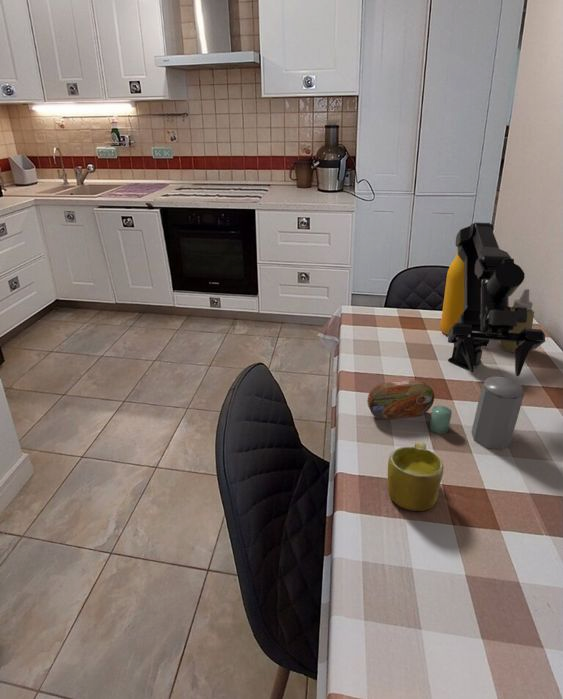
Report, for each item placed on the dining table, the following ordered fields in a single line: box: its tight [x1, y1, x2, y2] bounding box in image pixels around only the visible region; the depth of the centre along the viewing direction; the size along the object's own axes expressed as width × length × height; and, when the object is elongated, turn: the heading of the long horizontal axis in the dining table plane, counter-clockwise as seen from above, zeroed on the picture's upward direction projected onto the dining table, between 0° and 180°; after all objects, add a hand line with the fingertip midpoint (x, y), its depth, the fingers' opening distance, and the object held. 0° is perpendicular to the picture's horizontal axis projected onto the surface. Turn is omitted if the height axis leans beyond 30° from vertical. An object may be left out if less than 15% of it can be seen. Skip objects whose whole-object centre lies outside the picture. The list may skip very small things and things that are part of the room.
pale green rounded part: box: [429, 405, 453, 434], centre depth 103 cm, size 4×4×4 cm
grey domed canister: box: [471, 376, 525, 450], centre depth 98 cm, size 7×7×13 cm
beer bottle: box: [439, 250, 464, 335], centre depth 140 cm, size 9×9×29 cm
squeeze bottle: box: [500, 288, 535, 353], centre depth 133 cm, size 8×8×18 cm
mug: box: [387, 440, 444, 512], centre depth 85 cm, size 12×10×10 cm
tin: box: [366, 379, 435, 421], centre depth 106 cm, size 15×3×8 cm, turn 99°
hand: (494, 374), depth 101 cm, fingers open, 9 cm apart
